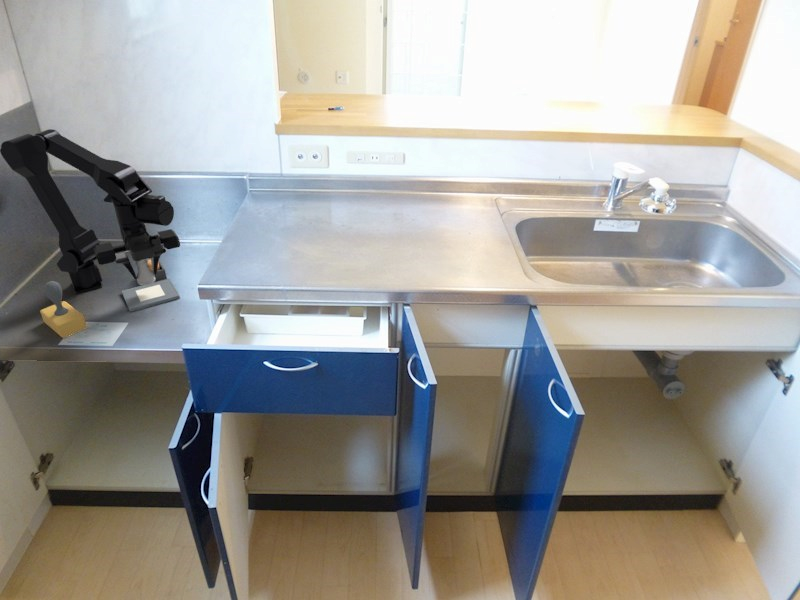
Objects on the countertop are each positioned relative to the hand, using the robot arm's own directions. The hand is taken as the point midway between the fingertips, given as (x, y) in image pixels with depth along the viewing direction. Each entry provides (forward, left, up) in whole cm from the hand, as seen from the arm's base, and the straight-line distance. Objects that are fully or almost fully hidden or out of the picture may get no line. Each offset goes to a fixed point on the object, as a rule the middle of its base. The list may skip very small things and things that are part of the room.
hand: (145, 276), depth 142 cm
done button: (+3, +9, -3) cm, 10 cm away
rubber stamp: (-20, -3, -6) cm, 21 cm away
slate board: (0, 0, -6) cm, 6 cm away
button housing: (+3, +9, -6) cm, 11 cm away
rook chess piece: (0, 0, -2) cm, 2 cm away
